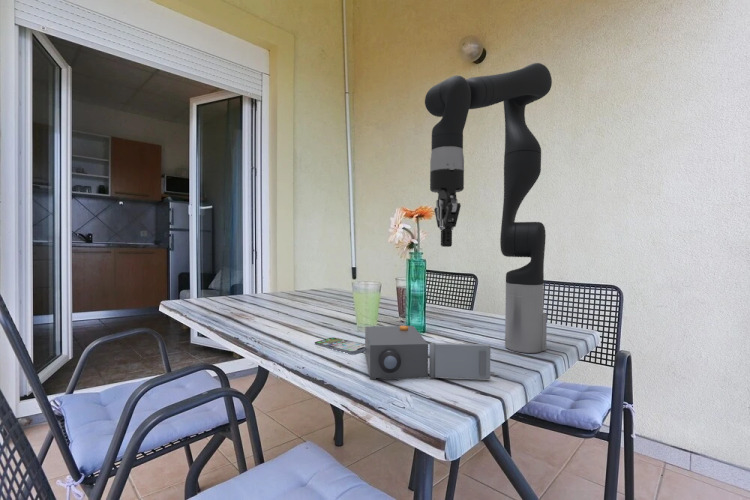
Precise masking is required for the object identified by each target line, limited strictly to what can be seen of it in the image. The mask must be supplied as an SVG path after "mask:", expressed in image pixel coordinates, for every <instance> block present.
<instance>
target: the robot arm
mask: <svg viewBox="0 0 750 500" xmlns="http://www.w3.org/2000/svg"><path fill="white" fill-rule="evenodd" d="M552 80H553V79H552V76H551V72H550V70H549V68H548V67H547V66H546V65H544V64H543V63H539V62H533V63H531V64H529V65H526V66H524V67H522V68H520V69H516V70H513V71H508V72H503V73H498V74H490V75H481V76H473V77H467V78H465V77H463V76H461V75H453V76H450V77H448V78H446V79H445V80H443V81H441V82H438V83H437V84H435V85H433V86H432V87H431V88H430V89H429V90H428V91H427V93H426V94H425V97H424V106H425V109H426V110H427V112H428V113H429V114H431V115H432V116H434V117H436V118H441V119H440V121H438V123H436V124H435V125H434V126H433V128H432V130H431V153H430V161H429V163H430V165H429V166H430V169H429V170H430V171H429V173H430V174H429V176H430V177H429V178H430V179H429V190H430V192H432V193H436V194H437V200H436V201H435V207H434V210H433V211H434V215H435V220H436V226H437V228H439V230H440V246H441V247H445V248H446V247H447V248H448V247H450V248H451V247H452V246H453V231H454V228H456V226H457V222H458V218H459V215H460V214H459V213H460V210H461V206H462V205H461V203H460V202H458V198H457V193H460V192H463V191H464V189H465V187H464V184H465V177H464V176H465V158H464V157H465V156H464V131H465V130H464V128H465V125H466V122H467V118H468V114H469V111H470V110H476V109H482V108H487V107H490V106H493V105H496V104H499V103H502V102H503V110H504V111H503V113H504V154H503V157H504V158H503V202H502V203H503V205H502V206H503V207H502V213H501V214H502V216H501V225H500V239H499V240H500V241H499V242H500V244H499V246H500V252H501V255H503V256H504V257H507V258H510V257H511V258H530V260H529V262H528V263H527V264H525V265H524V266H522V267H519V268H518V267H517V268H515V269H512V270H509V271H507V272H506V274H505V316H504V317H505V319H504V325H505V326H504V346H505V349H508V350H511V351H513V352H517V353H518V352H519V353H525V354H528V353H529V354H536V353H541V352H543V351H547V331H548V330H547V329H548V327H547V325H548V324H547V322H548V319H547V318H548V315H547V313H545V312H544V300H545V299H544V294H545V293H544V292H545V291H544V289H545V288H544V287H545V285H544V283H545V282H544V281H545V280H544V279H545V275H544V272H545V271H544V266H545V265H544V264H545V262H544V261H545V251H546V227H545V225H544V224H543V223H542V222H540V221H522V222H521V221H516V216H517V214H518V210H519V208H520V206H521V205H522V202H523V201H524V199H525V198H526V197H527V195H528V193H529V192H530V191H531V190H532V188H533V186H534V185H535V184H536V182H537V181H538V179H539V177H540V175H541V171H542V170H541V169H542V167H541V166H542V148H541V145H540V143H539V142H540V141H538V139H537V138H536V136H535V135H534V133H533V132H532V131H531V130H530V129H529V127H528V125H527V123H526V117H525V114H526V113H525V111H526V106H527V105H529V104H532V103H535V102H536V101H538V100H540V99H543V98H544V97H546V96H547V95H548V94H549V92H551V88H552V84H553V81H552ZM515 221H516V222H515Z"/></svg>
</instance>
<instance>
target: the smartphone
mask: <svg viewBox="0 0 750 500" xmlns="http://www.w3.org/2000/svg"><path fill="white" fill-rule="evenodd" d="M314 345H315V346H320V347H323V348H325V349H329V350H332V349H333V351H336V350H337V352H339V351H341V353H343V352H345V353H344V354H346V353H348V354H347V355H351V354H354V355H357V354H360V353H363V352H365V343H362V342H358V341H354V340H353V341H352V340H348V339H342V338H338V337H328V338H325V339H321V340H317V341H315V342H314ZM362 351H363V352H362ZM359 352H360V353H359Z"/></svg>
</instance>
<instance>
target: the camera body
mask: <svg viewBox="0 0 750 500" xmlns="http://www.w3.org/2000/svg"><path fill="white" fill-rule="evenodd" d="M364 329H365V331H364V335H365V336H364V337H365V342H364V344H365V351H364V355H365V360H366V366H367V372H368V376H370V377H369V380H377V379H376V378H400V379H420V378H419V377H428V378H429V343H428V342H427V341H426V339H424V337H423V336H422V334H421V333H420V332H419V331H418V330H417V328H416V327H415V326H414V325H391V326H390V325H384V326H381V325H380V326H379V325H377V326H365V328H364Z"/></svg>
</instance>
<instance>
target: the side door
mask: <svg viewBox="0 0 750 500" xmlns="http://www.w3.org/2000/svg"><path fill="white" fill-rule="evenodd" d="M428 378H432V379H433V378H440V379H446V378H447V379H466V380H467V379H469V380H471V379H472V380H475V379H476V380H491V345H490V344H483V343H482V344H481V343H477V344H476V343H448V342H447V343H445V342H444V343H443V342H430V343H429V358H428Z"/></svg>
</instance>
